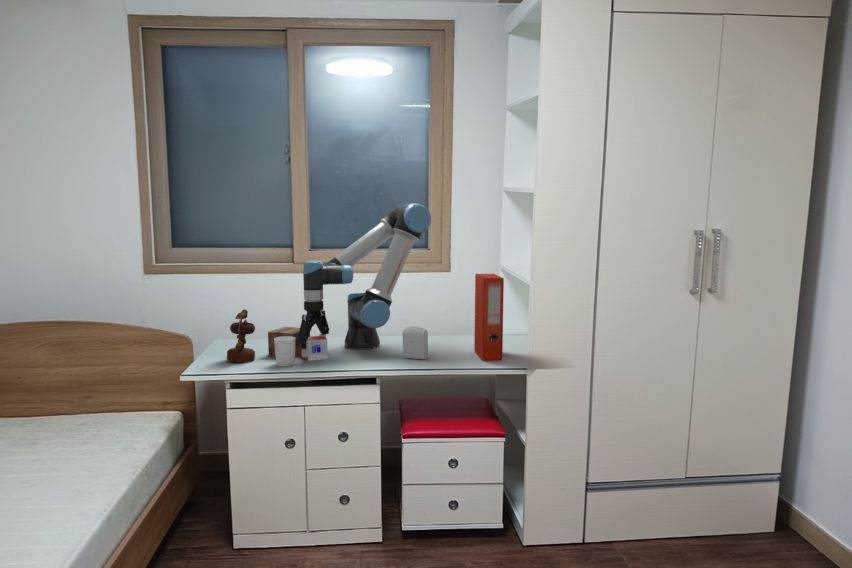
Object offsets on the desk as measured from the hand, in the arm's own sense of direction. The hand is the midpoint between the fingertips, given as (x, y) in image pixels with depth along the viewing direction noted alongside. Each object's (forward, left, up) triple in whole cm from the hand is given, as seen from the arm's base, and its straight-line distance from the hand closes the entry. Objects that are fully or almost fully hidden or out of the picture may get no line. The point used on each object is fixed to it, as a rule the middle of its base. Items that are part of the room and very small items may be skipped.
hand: (314, 353), depth 253 cm
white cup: (+5, +13, -2) cm, 14 cm away
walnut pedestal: (+12, -2, -2) cm, 13 cm away
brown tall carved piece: (+25, +13, -2) cm, 28 cm away
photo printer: (-38, -12, -2) cm, 40 cm away
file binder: (-64, -25, -2) cm, 69 cm away
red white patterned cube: (0, 0, -2) cm, 2 cm away
